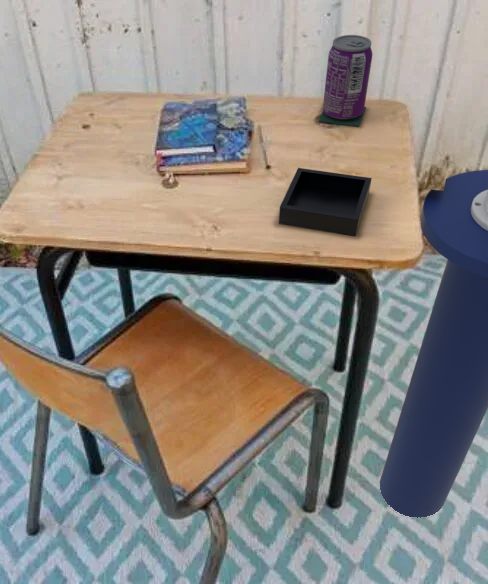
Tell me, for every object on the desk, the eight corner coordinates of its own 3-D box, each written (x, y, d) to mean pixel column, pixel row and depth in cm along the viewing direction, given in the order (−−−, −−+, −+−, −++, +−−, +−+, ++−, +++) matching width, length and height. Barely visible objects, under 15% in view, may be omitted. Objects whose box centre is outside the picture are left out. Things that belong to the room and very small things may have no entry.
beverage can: (369, 108, 114) (380, 37, 106) (354, 126, 110) (365, 53, 102) (331, 101, 117) (339, 31, 108) (315, 117, 113) (323, 46, 104)
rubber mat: (365, 108, 115) (366, 106, 115) (358, 127, 111) (359, 124, 111) (326, 104, 117) (326, 102, 117) (318, 122, 113) (318, 120, 113)
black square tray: (368, 194, 97) (371, 177, 95) (355, 236, 90) (358, 219, 88) (296, 184, 100) (298, 167, 98) (278, 223, 93) (279, 207, 91)
